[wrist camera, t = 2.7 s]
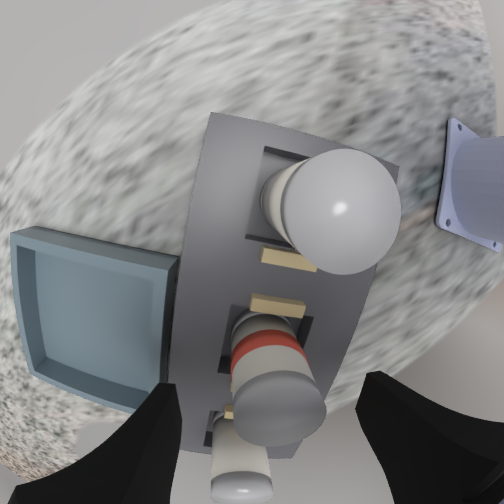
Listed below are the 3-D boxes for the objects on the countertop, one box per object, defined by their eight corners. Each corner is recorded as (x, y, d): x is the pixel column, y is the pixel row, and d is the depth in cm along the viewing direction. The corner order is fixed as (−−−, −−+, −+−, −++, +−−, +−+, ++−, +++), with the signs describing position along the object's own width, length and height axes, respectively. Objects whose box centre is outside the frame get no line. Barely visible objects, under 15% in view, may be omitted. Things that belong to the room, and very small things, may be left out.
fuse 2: (330, 177, 13) (410, 171, 6) (316, 240, 13) (383, 282, 7) (267, 160, 12) (303, 132, 6) (253, 226, 13) (274, 262, 7)
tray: (178, 256, 14) (168, 270, 11) (165, 395, 16) (158, 420, 14) (35, 225, 13) (10, 232, 10) (45, 356, 15) (30, 373, 12)
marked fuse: (298, 309, 14) (342, 389, 8) (282, 359, 15) (309, 446, 8) (236, 299, 14) (242, 383, 7) (225, 352, 14) (225, 444, 8)
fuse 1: (266, 404, 15) (281, 486, 9) (255, 432, 16) (265, 507, 10) (216, 398, 15) (214, 484, 9) (210, 428, 16) (207, 504, 9)
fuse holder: (374, 168, 14) (406, 165, 11) (286, 435, 18) (293, 464, 15) (214, 125, 13) (209, 108, 10) (171, 422, 17) (164, 453, 14)
